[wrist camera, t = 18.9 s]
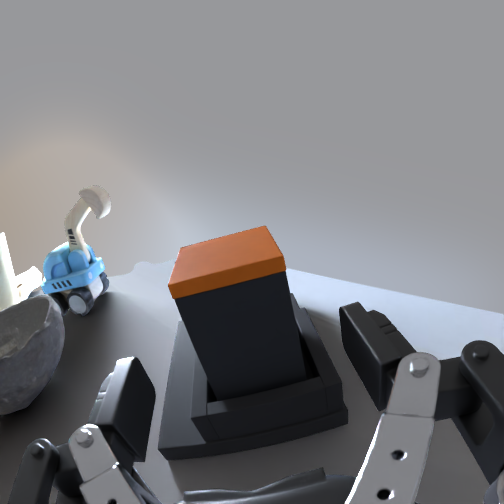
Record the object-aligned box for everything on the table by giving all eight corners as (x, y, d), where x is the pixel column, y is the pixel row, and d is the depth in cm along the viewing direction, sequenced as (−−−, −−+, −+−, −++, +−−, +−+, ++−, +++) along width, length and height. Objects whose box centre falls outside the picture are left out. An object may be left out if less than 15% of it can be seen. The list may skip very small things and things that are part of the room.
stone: (-6, 302, 59) (-14, 286, 57) (25, 282, 69) (18, 266, 67) (17, 309, 50) (7, 288, 48) (55, 283, 60) (47, 263, 58)
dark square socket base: (294, 305, 31) (288, 270, 30) (348, 423, 16) (346, 383, 15) (183, 332, 31) (170, 300, 30) (166, 460, 16) (139, 426, 15)
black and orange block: (293, 350, 23) (265, 225, 19) (311, 400, 17) (283, 255, 14) (223, 367, 23) (180, 247, 19) (226, 421, 17) (167, 285, 14)
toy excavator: (129, 308, 39) (84, 187, 34) (47, 322, 41) (5, 223, 35) (147, 281, 47) (112, 178, 42) (70, 298, 49) (35, 209, 43)
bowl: (61, 331, 37) (37, 282, 34) (111, 378, 26) (73, 308, 23) (-28, 391, 24) (-59, 341, 22) (-16, 469, 13) (-73, 405, 10)
